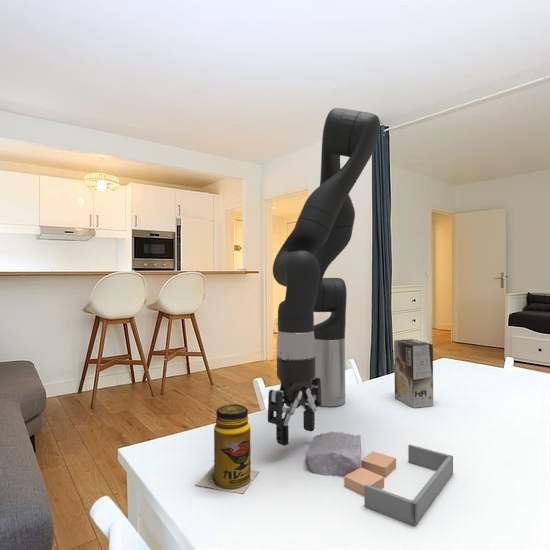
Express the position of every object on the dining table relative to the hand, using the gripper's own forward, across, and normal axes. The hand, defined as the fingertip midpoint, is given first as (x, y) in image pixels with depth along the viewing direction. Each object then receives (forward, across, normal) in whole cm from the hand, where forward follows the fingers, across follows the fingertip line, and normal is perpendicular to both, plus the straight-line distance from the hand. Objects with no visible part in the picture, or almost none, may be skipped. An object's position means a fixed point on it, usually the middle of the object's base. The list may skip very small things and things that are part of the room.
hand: (296, 437), depth 77 cm
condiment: (+3, +16, -2) cm, 16 cm away
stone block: (+3, -1, +8) cm, 8 cm away
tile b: (+3, -3, +16) cm, 16 cm away
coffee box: (+3, -43, +7) cm, 44 cm away
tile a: (+3, +4, +16) cm, 17 cm away
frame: (+3, 0, +23) cm, 23 cm away
